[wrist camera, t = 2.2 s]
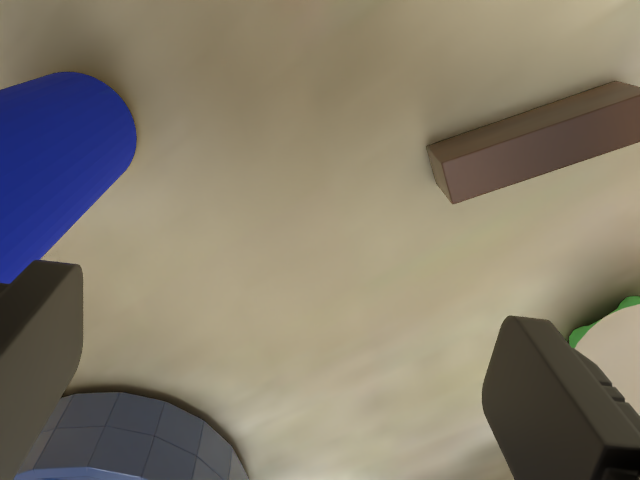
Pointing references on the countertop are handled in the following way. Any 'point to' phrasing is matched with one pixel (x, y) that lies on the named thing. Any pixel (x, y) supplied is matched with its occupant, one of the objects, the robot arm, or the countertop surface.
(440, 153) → the stick
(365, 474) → the countertop surface
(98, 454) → the bowl
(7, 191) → the beverage can
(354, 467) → the countertop surface
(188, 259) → the countertop surface
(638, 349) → the cup
